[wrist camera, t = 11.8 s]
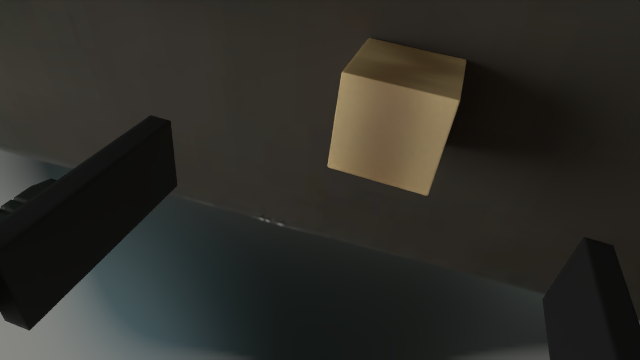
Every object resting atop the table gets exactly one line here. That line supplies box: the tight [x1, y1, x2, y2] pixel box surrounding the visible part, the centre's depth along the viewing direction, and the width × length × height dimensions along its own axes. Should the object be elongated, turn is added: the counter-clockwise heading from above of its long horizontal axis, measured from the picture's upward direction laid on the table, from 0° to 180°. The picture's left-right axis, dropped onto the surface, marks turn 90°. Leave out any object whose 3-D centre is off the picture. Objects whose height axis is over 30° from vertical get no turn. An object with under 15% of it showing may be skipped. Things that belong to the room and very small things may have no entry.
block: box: [328, 38, 466, 196], centre depth 19 cm, size 4×4×4 cm
